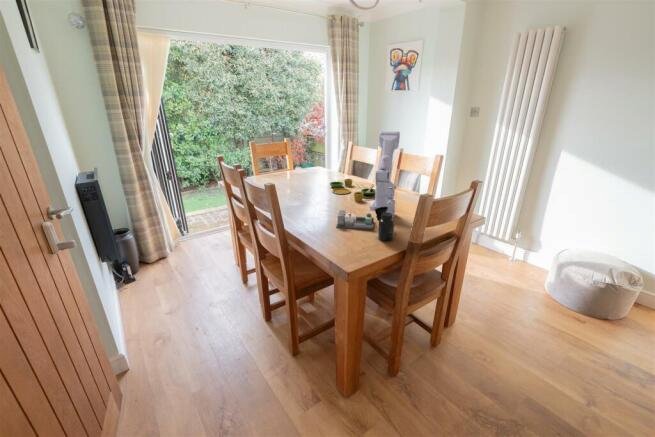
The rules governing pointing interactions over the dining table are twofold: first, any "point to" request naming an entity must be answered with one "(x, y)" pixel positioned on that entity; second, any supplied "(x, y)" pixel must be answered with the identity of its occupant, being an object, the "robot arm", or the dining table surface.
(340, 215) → the press
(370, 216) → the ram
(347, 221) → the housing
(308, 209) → the dining table surface
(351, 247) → the dining table surface
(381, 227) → the supplement bottle
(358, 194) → the tableware set
